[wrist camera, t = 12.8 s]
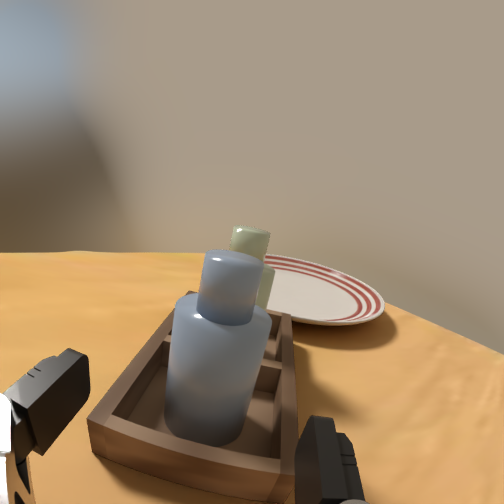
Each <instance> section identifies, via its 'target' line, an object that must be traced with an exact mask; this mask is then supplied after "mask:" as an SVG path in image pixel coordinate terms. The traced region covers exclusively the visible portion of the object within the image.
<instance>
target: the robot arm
mask: <svg viewBox="0 0 504 504" xmlns="http://www.w3.org/2000/svg"><path fill="white" fill-rule="evenodd" d="M89 394H90V375H89V360H88V357H87V355H85V354H82V353H80V352H77V351H75V350H73V349H70V348H68V349H66V350H65V351H64V352H62V353H61V354H60V355H59V356H58V357H56V356H51V357H49V358H46V359H43V360H42V361H40V362H39V363H38V364H37V365H36V366H34V368H32V369H31V370H30V371H28V372H27V374H25V375H24V376H22V377H21V378H20V379H19V380H18V381H17V382H15V383H14V384H13V385H12V386H11V387H10V388H8V389H7V390H6V391H5V392H4V393H3V394H0V504H36V502H35V497H34V492H33V485H32V478H31V471H30V462H29V457H28V454H29V453H30V452H31V451H32V450H33V451H35V452H36V453H38V454H40V455H41V456H43V455H44V454H45V452H46V451H47V450H48V449H49V447H50V446H51V445H52V444H53V442H54V441H55V440H56V439H57V437H58V436H59V435H60V434H61V432H62V431H63V430H64V429H65V427H66V426H67V425H68V424H69V422H70V421H71V420H72V419H73V418H74V416H75V415H76V414H77V413H78V411H79V410H80V409H81V408H82V407H83V405H84V404H85V403H86V401H87V400H88V397H89ZM294 472H295V504H369V503H367V502H366V501H365V498H364V493H363V489H362V484H361V480H360V475H359V471H358V466H357V462H356V457H355V453H354V449H353V445H352V443H351V441H350V440H349V439H348V437H347V436H346V435H345V433H336V429H335V424H334V420H333V418H329V417H321V416H313V415H312V416H310V418H309V419H308V422H307V424H306V426H305V428H304V431H303V433H302V435H301V437H300V439H299V442H298V444H297V446H296V450H295V456H294Z"/></svg>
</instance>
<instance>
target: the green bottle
mask: <svg viewBox="0 0 504 504" xmlns="http://www.w3.org/2000/svg"><path fill="white" fill-rule="evenodd" d="M269 238H270V233H269V232H267V231H264V230H261V229H257V228H253V227H248V226H239V225H237V226H234V229H233V234H232V239H231V244H230V249H229V251H235V252H240V253H244V254H247V255H250V256H253V257H255V258H257V259H259V260H261V261H262V262H263V263H264V260H265V256H266V251H267V247H268V243H269ZM274 276H275V270H274V269H273V268H272V267H271V266H269V265H267V264H265V263H264V269H263V273H262V277H261V282H260V286H259V290H258V294H257V299H256V303H255V305H257V306H259V307H260V308H262V309H263V310H264V311H266V309H267V305H268V301H269V297H270V293H271V288H272V284H273V280H274Z"/></svg>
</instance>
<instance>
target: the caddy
mask: <svg viewBox="0 0 504 504" xmlns="http://www.w3.org/2000/svg"><path fill="white" fill-rule="evenodd" d="M193 293H197V292H193V291H188V292H187V294H186V295H189V294H193ZM174 311H175V308H174V309H173V311H172V312H171V313H170V314H169V315H168V317H167V318H166V319H165V320H164V322H163V323H162V324H161V325H160V327H159V328H158V329H157V330H156V331H155V333H154V334H153V335H152V336H151V338H150V339H149V340H148V341H147V343H146V344H145V345H144V346H143V348H142V349H141V350H140V351H139V353H138V354H137V355H136V356H135V357H134V359H133V360H132V361H131V362H130V364H129V365H128V366H127V368H126V369H125V370H124V371H123V373H122V374H121V375H120V376H119V378H118V379H117V380H116V381H115V383H114V384H113V385H112V386H111V388H110V389H109V390H108V392H107V393H106V394H105V395H104V397H103V398H102V399H101V400H100V402H99V403H98V404H97V406H96V407H95V408H94V409H93V411H92V412H91V413H90V415H89V416H88V417H87V425H88V431H89V437H90V443H91V448H92V452H93V453H95V454H98V455H100V456H102V457H105V458H107V459H109V460H112V461H114V462H117V463H119V464H122V465H124V466H127V467H130V468H132V469H135V470H138V471H140V472H143V473H146V474H149V475H152V476H155V477H158V478H161V479H165V480H168V481H171V482H175V483H178V484H182V485H185V486H189V487H193V488H197V489H201V490H205V491H209V492H214V493H218V494H223V495H228V496H233V497H238V498H244V499H250V500H256V501H263V502H271V503H279V504H284V502H285V500H286V499H287V497H288V495H289V494H290V492H291V490H292V489H293V487H294V485H295V472H294V456H295V450H296V446H297V444H298V442H299V438H298V417H297V398H296V381H295V365H294V350H293V336H292V322H291V314H287V313H283V312H278V311H273V310H269V309H266V312H267V313H268V315H269V316H270V317H271V320H272V326H271V330H270V333H269V337H268V341H267V345H266V348H265V352H264V356H263V359H262V363H261V366H260V370H259V374H258V377H257V381H256V384H255V388H254V391H253V395H252V398H251V402H250V405H249V408H248V412H247V415H246V419H245V422H244V425H243V429H242V432H241V434H240V435H239V437H238V438H237V439H236V440H234V441H233V442H231V443H229V444H227V445H224V446H220V447H212V446H208V445H204V444H200V443H196V442H193V441H189V440H185V439H182V438H178V437H176V436H175V435H174V434H173V433H171V431H170V430H169V429H168V427H167V426H166V424H165V421H164V405H165V393H166V382H167V372H168V362H169V353H170V344H171V335H172V327H173V319H174Z"/></svg>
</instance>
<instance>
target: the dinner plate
mask: <svg viewBox="0 0 504 504" xmlns="http://www.w3.org/2000/svg"><path fill="white" fill-rule="evenodd" d="M264 263H265V264H267V265H269V266H271V267H272V268H273V269H274V270H275V276H274V280H273V284H272V288H271V293H270V297H269V301H268V305H267V309H269V310H273V311H278V312H283V313H287V314H291V321H295V322H301V323H308V324H317V325H329V326H341V325H353V324H359V323H364V322H367V321H371V320H373V319H375V318H377V317H379V316H380V315H381V314H382V313H383V312H384V309H385V302H384V300H383V298H382V297H381V296H380V295H379V294H378V292H377V291H375V290H374V289H373V288H371V287H370V286H368V285H367V284H365V283H363V282H362V281H360V280H358V279H356V278H354V277H352V276H349V275H347V274H345V273H342V272H339V271H337V270H334V269H331V268H328V267H326V266H322V265H319V264H316V263H312V262H308V261H304V260H300V259H295V258H290V257H285V256H277V255H271V254H266V256H265V260H264Z"/></svg>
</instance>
